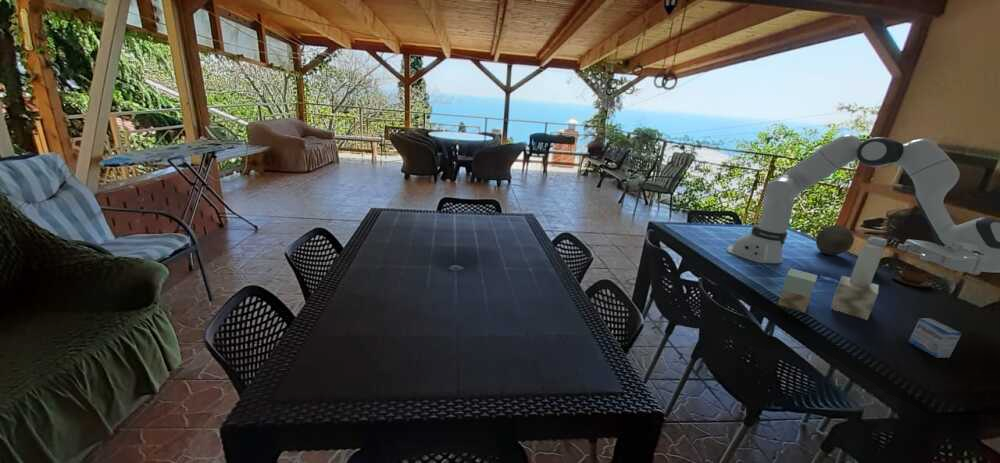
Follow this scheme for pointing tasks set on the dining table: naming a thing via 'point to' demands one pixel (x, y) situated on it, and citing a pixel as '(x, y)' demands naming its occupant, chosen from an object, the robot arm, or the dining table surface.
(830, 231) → the cantaloupe
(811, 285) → the tower block upper
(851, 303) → the shelf block
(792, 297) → the tower block lower
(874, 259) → the canister
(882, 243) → the beer can
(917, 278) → the cup and saucer
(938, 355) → the medicine box
